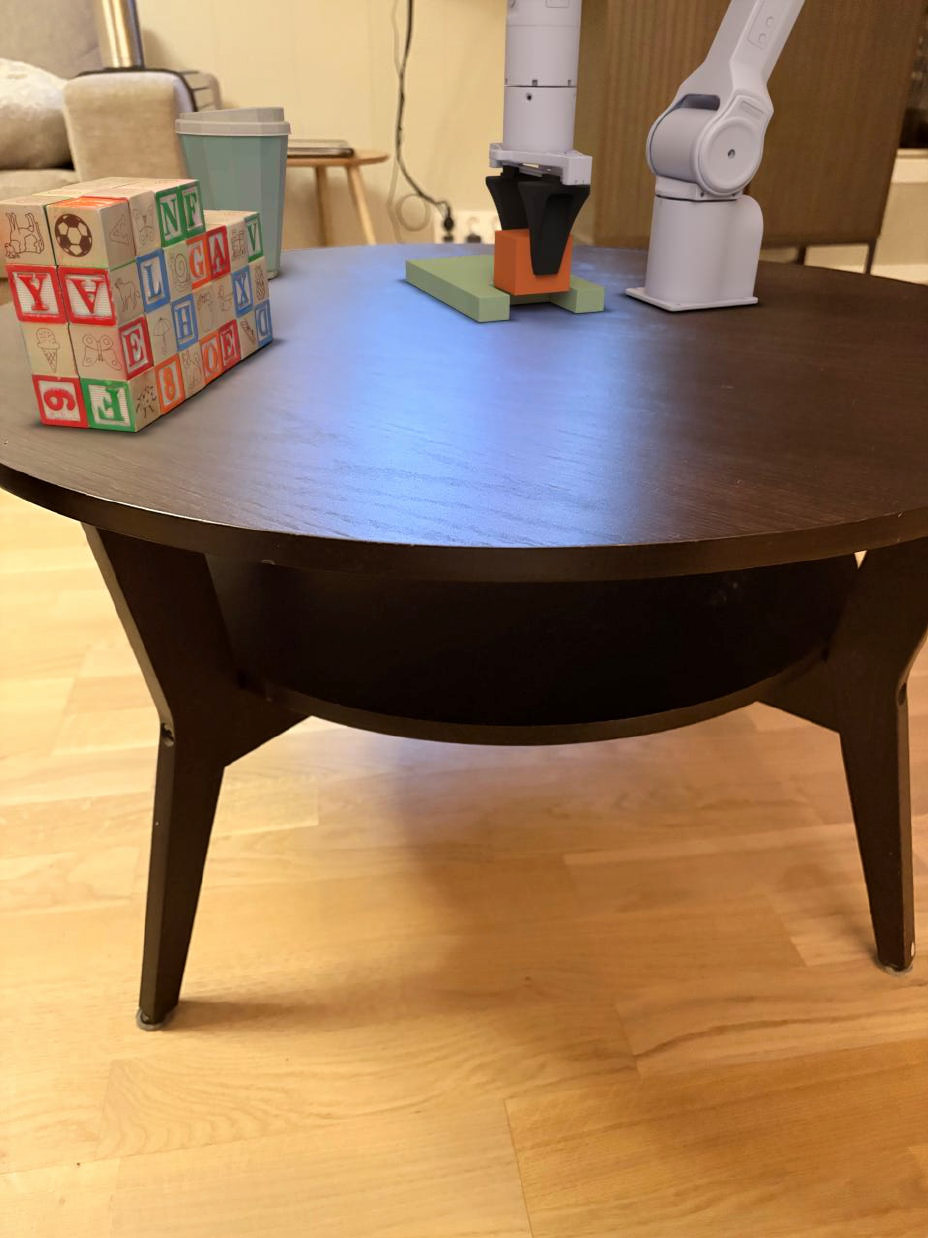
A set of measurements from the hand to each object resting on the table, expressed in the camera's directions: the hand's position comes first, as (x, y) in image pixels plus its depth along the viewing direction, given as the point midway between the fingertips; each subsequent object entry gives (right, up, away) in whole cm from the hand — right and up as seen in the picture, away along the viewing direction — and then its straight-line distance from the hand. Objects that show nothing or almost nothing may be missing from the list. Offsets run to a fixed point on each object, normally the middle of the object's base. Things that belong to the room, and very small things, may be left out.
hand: (532, 268), depth 80 cm
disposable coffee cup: (-28, +4, +14) cm, 31 cm away
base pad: (-3, 0, +7) cm, 7 cm away
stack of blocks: (-26, -14, -16) cm, 34 cm away
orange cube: (0, -1, +1) cm, 2 cm away
